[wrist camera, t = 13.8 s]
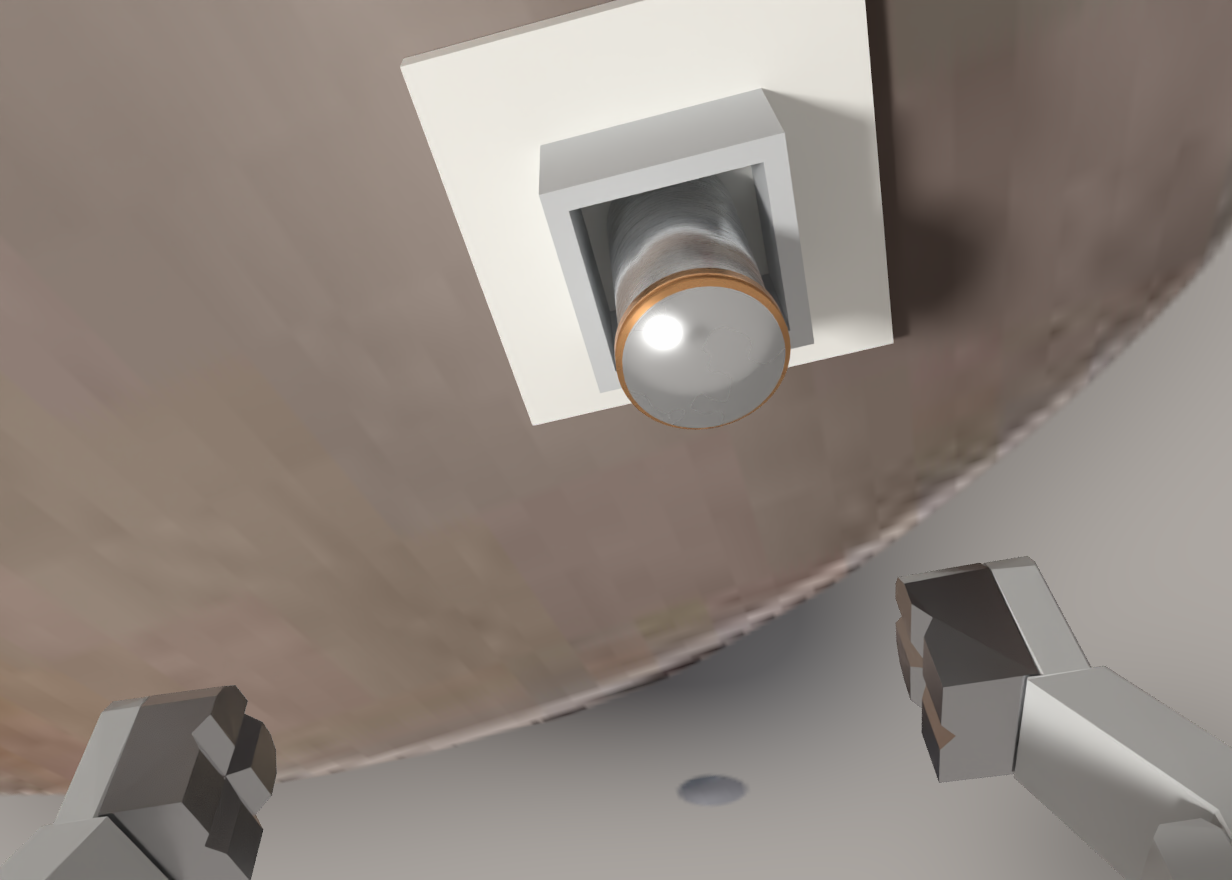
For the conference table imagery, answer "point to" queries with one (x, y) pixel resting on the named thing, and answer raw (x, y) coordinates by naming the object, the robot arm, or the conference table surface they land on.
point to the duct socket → (659, 169)
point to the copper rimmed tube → (692, 308)
